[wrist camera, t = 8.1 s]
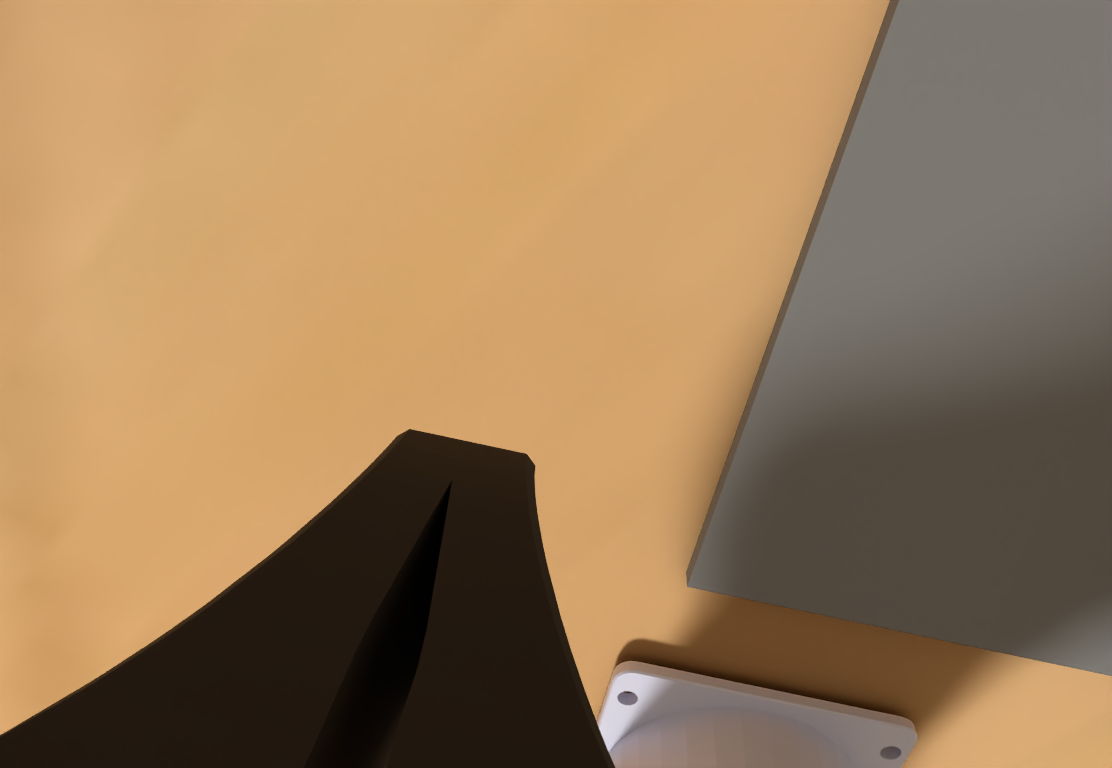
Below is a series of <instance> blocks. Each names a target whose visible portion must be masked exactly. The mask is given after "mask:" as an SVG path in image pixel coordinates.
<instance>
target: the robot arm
mask: <svg viewBox="0 0 1112 768" xmlns="http://www.w3.org/2000/svg"><path fill="white" fill-rule="evenodd" d="M534 474H535V465H534V463H533V462H532V461H531V459H530V458H529V456H528V455H527V454H524V453H519V452H515V451H510V450H505V449H501V448H496V447H491V446H487V445H482V444H477V443H472V442H468V441H463V440H458V439H454V438H449V437H444V436H440V435H435V434H430V433H425V432H421V431H416V430H411V429H409V430H407V431H405V432H404V433H402V434H400V435H398V436H397V437H396V438H395V439H394V440H393V441H392V443H391V444H390V445H389V446H388V447H387V448H386V449H385V450H384V451H383V452H382V453H381V454H380V455H379V456H378V457H377V458H376V460H375V461H374V462H373V463H372V464H371V465H370V466H369V467H368V468H367V469H366V470H365V471H364V472H363V473H362V474H361V475H360V476H358V477H357V478H356V479H355V480H354V481H353V482H352V483H351V484H350V485H349V486H348V487H347V488H346V489H345V490H344V491H343V492H342V493H341V494H339V495H338V496H337V497H336V498H335V499H334V500H333V501H332V502H331V503H330V504H329V505H327V506H326V507H325V508H324V509H323V510H322V511H321V512H319V513H318V514H317V515H316V516H315V517H314V518H313V519H311V520H310V521H309V522H308V523H307V524H306V525H305V526H303V527H302V528H301V529H300V530H299V531H298V532H297V533H295V534H294V535H293V536H292V537H291V538H290V539H288V540H287V541H286V542H285V543H284V544H283V545H281V546H280V547H279V548H278V549H277V550H275V551H274V552H273V553H272V554H270V555H269V556H268V557H267V558H265V559H264V560H263V561H261V562H260V563H259V564H258V565H256V566H255V567H254V568H252V569H251V570H250V571H249V572H247V573H246V574H245V575H243V576H242V577H241V578H239V579H238V580H237V581H236V582H234V583H233V584H232V585H230V586H229V587H228V588H227V589H225V590H224V591H223V592H221V593H220V594H219V595H217V596H216V597H215V598H214V599H212V600H211V601H210V602H208V603H207V604H206V605H204V606H203V607H202V608H200V609H199V610H197V611H196V612H195V613H193V614H192V615H190V616H189V617H188V618H186V619H185V620H183V621H182V622H180V623H179V624H178V625H176V626H175V627H173V628H172V629H171V630H169V631H168V632H166V633H165V634H163V635H162V636H160V637H159V638H157V639H156V640H154V641H153V642H152V643H150V644H149V645H147V646H146V647H144V648H142V649H141V650H139V651H138V652H136V653H135V654H133V655H132V656H130V657H129V658H127V659H126V660H124V661H122V662H121V663H119V664H118V665H116V666H115V667H113V668H112V669H110V670H109V671H107V672H106V673H104V674H102V675H101V676H99V677H98V678H96V679H94V680H93V681H91V682H90V683H88V684H86V685H85V686H83V687H81V688H79V689H78V690H76V691H74V692H73V693H71V694H69V695H68V696H66V697H64V698H63V699H61V700H59V701H58V702H56V703H54V704H52V705H51V706H49V707H47V708H46V709H44V710H42V711H41V712H39V713H37V714H36V715H34V716H32V717H31V718H29V719H27V720H25V721H24V722H22V723H20V724H19V725H17V726H15V727H14V728H12V729H10V730H9V731H7V732H5V733H3V734H2V735H0V768H901V767H902V766H903V764H904V763H905V761H906V759H907V758H908V756H909V754H910V753H911V751H912V749H913V748H914V746H915V745H916V743H917V740H918V736H917V733H916V730H915V727H914V724H913V722H911V721H910V720H909V719H907V718H904V717H901V716H896V715H892V714H887V713H882V712H877V711H873V710H868V709H863V708H858V707H853V706H849V705H844V704H839V703H834V702H829V701H825V700H820V699H815V698H810V697H805V696H801V695H796V694H791V693H786V692H781V691H777V690H772V689H767V688H762V687H758V686H753V685H748V684H743V683H738V682H734V681H729V680H724V679H719V678H714V677H710V676H705V675H700V674H695V673H690V672H686V671H681V670H676V669H671V668H666V667H662V666H657V665H652V664H647V663H643V662H638V661H626V662H622V663H620V664H619V665H617V666H616V668H615V669H614V671H613V674H612V677H611V680H610V683H609V686H608V689H607V692H606V695H605V698H604V701H603V704H602V707H601V710H600V714H599V717H598V720H597V722H596V719H595V717H594V714H593V711H592V709H591V706H590V703H589V701H588V698H587V695H586V693H585V690H584V687H583V684H582V681H581V678H580V675H579V672H578V669H577V667H576V664H575V661H574V658H573V655H572V652H571V649H570V646H569V643H568V639H567V636H566V633H565V629H564V626H563V623H562V620H561V616H560V612H559V609H558V605H557V601H556V597H555V593H554V590H553V586H552V582H551V578H550V574H549V570H548V567H547V562H546V558H545V553H544V548H543V543H542V538H541V532H540V526H539V521H538V514H537V507H536V498H535V480H534ZM624 691H630V692H633V693H624ZM888 746H890V747H888Z"/></svg>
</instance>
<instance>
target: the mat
mask: <svg viewBox="0 0 1112 768" xmlns="http://www.w3.org/2000/svg"><path fill="white" fill-rule="evenodd" d="M686 574H687V587H691V588H696V589H701V590H706V591H710V592H715V593H720V594H725V595H729V596H734V597H739V598H744V599H748V600H753V601H758V602H763V603H767V604H772V605H777V606H782V607H786V608H791V609H796V610H801V611H805V612H810V613H815V614H820V615H824V616H829V617H834V618H839V619H843V620H848V621H853V622H858V623H862V624H867V625H872V626H877V627H881V628H886V629H891V630H896V631H900V632H905V633H910V634H915V635H919V636H924V637H929V638H934V639H938V640H943V641H948V642H953V643H957V644H962V645H967V646H972V647H976V648H981V649H986V650H991V651H995V652H1000V653H1005V654H1010V655H1014V656H1019V657H1024V658H1029V659H1033V660H1038V661H1043V662H1048V663H1052V664H1057V665H1062V666H1067V667H1071V668H1076V669H1081V670H1086V671H1090V672H1095V673H1100V674H1105V675H1109V676H1112V0H891V1H890V3H889V6H888V9H887V12H886V15H885V17H884V20H883V23H882V26H881V29H880V31H879V34H878V37H877V40H876V43H875V45H874V48H873V51H872V54H871V57H870V59H869V62H868V65H867V68H866V71H865V73H864V76H863V79H862V82H861V85H860V87H859V90H858V93H857V96H856V99H855V101H854V104H853V107H852V110H851V113H850V115H849V118H848V121H847V124H846V127H845V130H844V132H843V135H842V138H841V141H840V144H839V146H838V149H837V152H836V155H835V158H834V160H833V163H832V166H831V169H830V172H829V174H828V177H827V180H826V183H825V186H824V188H823V191H822V194H821V197H820V200H819V202H818V205H817V208H816V211H815V214H814V216H813V219H812V222H811V225H810V228H809V230H808V233H807V236H806V239H805V242H804V244H803V247H802V250H801V253H800V256H799V258H798V261H797V264H796V267H795V270H794V272H793V275H792V278H791V281H790V284H789V286H788V289H787V292H786V295H785V298H784V300H783V303H782V306H781V309H780V312H779V314H778V317H777V320H776V323H775V326H774V328H773V331H772V334H771V337H770V340H769V342H768V345H767V348H766V351H765V354H764V356H763V359H762V362H761V365H760V368H759V370H758V373H757V376H756V379H755V382H754V384H753V387H752V390H751V393H750V396H749V398H748V401H747V404H746V407H745V410H744V412H743V415H742V418H741V421H740V424H739V426H738V429H737V432H736V435H735V438H734V440H733V443H732V446H731V449H730V452H729V454H728V457H727V460H726V463H725V466H724V468H723V471H722V474H721V477H720V480H719V482H718V485H717V488H716V491H715V494H714V496H713V499H712V502H711V505H710V508H709V510H708V513H707V516H706V519H705V522H704V524H703V527H702V530H701V533H700V536H699V538H698V541H697V544H696V547H695V550H694V552H693V555H692V558H691V561H690V564H689V566H688V569H687V572H686Z"/></svg>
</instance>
